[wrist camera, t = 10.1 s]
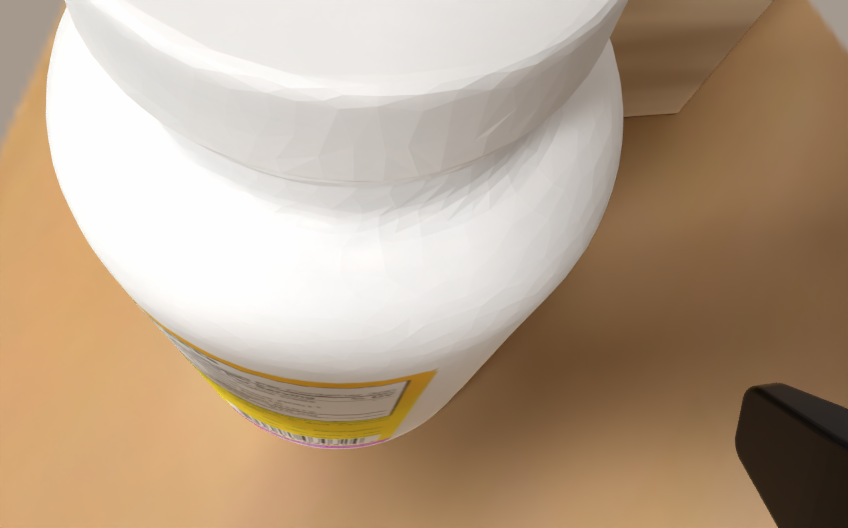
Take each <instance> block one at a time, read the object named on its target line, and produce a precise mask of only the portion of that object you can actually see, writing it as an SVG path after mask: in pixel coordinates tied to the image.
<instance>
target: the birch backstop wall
mask: <svg viewBox="0 0 848 528" xmlns="http://www.w3.org/2000/svg"><path fill="white" fill-rule="evenodd" d="M773 1H774V0H628V2H627V4H626V6H625V7H624V9H623V11H622V13H621V15H620V17H619V19H618V21H617V24H616V26H615V28H614V30H613V32H612V34H611V36H610V41H611V43H612V46H613V50H614V55H615V59H616V63H617V68H618V72H619V76H620V82H621V91H622V102H623V117H630V116H644V115H658V114H671V113H678V112H679V111H680V110H681V109H682V108H683V106H684V105H685V104H686V103H687V102H688V101H689V99H690V98H691V97H692V96H693V95H694V93H695V92H696V91H697V90H698V89H699V88H700V86H701V85H702V84H703V83H704V82H705V81H706V79H707V78H708V77H709V76H710V75H711V74H712V72H713V71H714V70H715V69H716V68H717V67H718V65H719V64H720V63H721V62H722V61H723V59H724V58H725V57H726V56H727V55H728V54H729V52H730V51H731V50H732V49H733V48H734V47H735V45H736V44H737V43H738V42H739V41H740V40H741V38H742V37H743V36H744V35H745V34H746V32H747V31H748V30H749V29H750V28H751V27H752V25H753V24H754V23H755V22H756V21H757V20H758V18H759V17H760V16H761V15H762V14H763V13H764V11H765V10H766V9H767V8H768V7H769V6H770V4H771V3H772V2H773Z"/></svg>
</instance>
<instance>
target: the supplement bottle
mask: <svg viewBox="0 0 848 528" xmlns="http://www.w3.org/2000/svg"><path fill="white" fill-rule="evenodd" d="M65 2H66V5H67V7H66V10H65V12H64V14H63V16H62V18H61V21H60V24H59V27H58V30H57V33H56V36H55V41H54V45H53V50H52V54H51V59H50V64H49V70H48V76H47V94H46V122H47V131H48V139H49V145H50V150H51V156H52V161H53V166H54V169H55V172H56V175H57V178H58V181H59V184H60V187H61V190H62V192H63V194H64V197H65V199H66V201H67V203H68V205H69V207H70V209H71V211H72V213H73V215H74V217H75V219H76V221H77V223H78V225H79V227H80V229H81V231H82V232H83V234H84V236H85V238H86V239H87V241H88V243H89V244H90V246H91V247H92V249H93V250H94V252H95V253H96V254H97V256H98V257H99V259H100V260H101V261H102V263H103V264H104V265H105V267H106V268H107V269H108V270H109V272H110V273H111V274H112V275H113V277H114V278H115V279H116V280H117V282H118V283H119V284H120V286H121V287H122V288H123V289H124V291H125V292H126V293H127V294H128V295H129V296H130V297H131V298H132V299H133V301H134V302H135V303H136V304H137V305H138V307H139V308H140V309H141V310H142V311H143V312H144V313H145V314H146V315H147V316H148V317H149V318H150V319H151V320H152V321H153V322H154V323H155V324H156V325H157V326H158V327H159V328H160V330H161V331H162V332H163V333H164V334H165V335H166V336H167V337H168V338H169V339H170V340H171V342H172V343H173V344H174V345H175V346H176V347H177V348H178V349H179V350H180V352H181V353H182V354H183V355H184V356H185V357H186V359H187V360H188V361H189V362H190V363H191V364H192V365H193V366H194V367H195V368H196V369H197V370H198V371H199V373H200V374H201V375H202V376H203V377H204V378H205V379H206V380H207V381H208V382H209V384H210V385H211V386H212V387H213V388H214V389H215V390H216V391H217V392H218V394H219V395H220V396H221V397H222V398H223V399H224V400H225V401H226V402H227V403H228V404H229V405H231V406H232V407H233V408H234V409H235V410H236V411H237V412H238V413H240V414H241V415H242V416H244V417H245V418H246V419H248V420H249V421H251V422H252V423H254V424H255V425H257V426H258V427H260V428H262V429H264V430H265V431H267V432H269V433H271V434H273V435H275V436H277V437H280V438H282V439H285V440H287V441H290V442H294V443H297V444H300V445H304V446H309V447H314V448H321V449H355V448H361V447H367V446H372V445H376V444H380V443H384V442H387V441H389V440H392V439H394V438H397V437H399V436H402V435H404V434H406V433H408V432H410V431H411V430H413V429H415V428H417V427H419V426H420V425H421V424H423V423H424V422H426V421H427V420H428V419H430V418H431V417H432V416H433V415H435V414H436V413H437V412H438V411H439V410H440V409H442V408H443V407H444V406H445V405H446V404H447V403H448V402H449V401H450V400H451V399H452V397H453V396H454V395H455V394H456V393H457V392H458V391H459V390H460V389H461V388H462V387H463V386H464V385H465V384H466V383H467V382H468V381H469V380H470V379H471V378H472V377H473V375H474V374H475V373H476V372H477V371H478V370H479V369H480V368H481V367H482V365H483V364H484V363H485V362H486V361H487V360H488V359H489V358H490V357H491V356H492V355H493V354H494V352H495V351H496V350H497V349H498V348H499V347H500V346H501V345H502V344H503V343H504V342H505V341H506V340H507V338H508V337H509V336H510V335H511V334H512V333H513V332H514V331H515V330H516V329H517V328H518V327H519V326H520V325H521V324H522V323H523V322H524V321H525V320H526V319H527V318H528V317H529V316H530V314H531V313H532V312H533V311H534V310H535V309H536V308H537V307H538V306H539V305H540V304H541V303H542V302H543V301H544V300H545V299H546V298H547V297H548V296H549V295H550V294H551V293H552V292H553V291H554V290H555V289H556V288H557V286H558V285H559V284H560V283H561V282H562V281H563V280H564V279H565V278H566V276H567V275H568V274H569V272H570V271H571V269H572V268H573V267H574V265H575V264H576V263H577V261H578V260H579V258H580V257H581V256H582V254H583V253H584V251H585V250H586V249H587V247H588V245H589V243H590V241H591V239H592V238H593V236H594V234H595V232H596V230H597V228H598V226H599V224H600V222H601V220H602V217H603V215H604V213H605V210H606V208H607V205H608V202H609V200H610V197H611V194H612V191H613V187H614V183H615V179H616V175H617V172H618V168H619V162H620V154H621V147H622V138H623V102H622V91H621V82H620V76H619V72H618V68H617V63H616V59H615V55H614V50H613V46H612V43H611V41H610V36H611V34H612V32H613V30H614V28H615V26H616V24H617V21H618V19H619V17H620V15H621V13H622V11H623V9H624V7H625V6H626V4H627V2H628V0H65Z"/></svg>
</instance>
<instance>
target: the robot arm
mask: <svg viewBox="0 0 848 528" xmlns="http://www.w3.org/2000/svg"><path fill="white" fill-rule="evenodd" d="M735 446H736V451H737V454H738V457H739V459H740V461H741V463H742V464H743V466H744V468H745V470H746V471H747V473H748V475H749V477H750V479H751V480H752V482H753V484H754V486H755V487H756V489H757V491H758V493H759V495H760V496H761V498H762V500H763V502H764V503H765V505H766V507H767V509H768V511H769V512H770V514H771V516H772V518H773V520H774V521H775V523H776V525H777V527H778V528H848V409H847V408H844V407H842V406H839V405H837V404H834V403H832V402H829V401H826V400H824V399H821V398H819V397H816V396H814V395H811V394H808V393H806V392H803V391H801V390H798V389H796V388H793V387H791V386H788V385H785V384H782V383H771V384H764V385H757V386H752V387H750V388H749V389H748V390H747V391H746V392H745V394H744V397H743V401H742V406H741V411H740V416H739V421H738V426H737V431H736V436H735Z"/></svg>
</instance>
